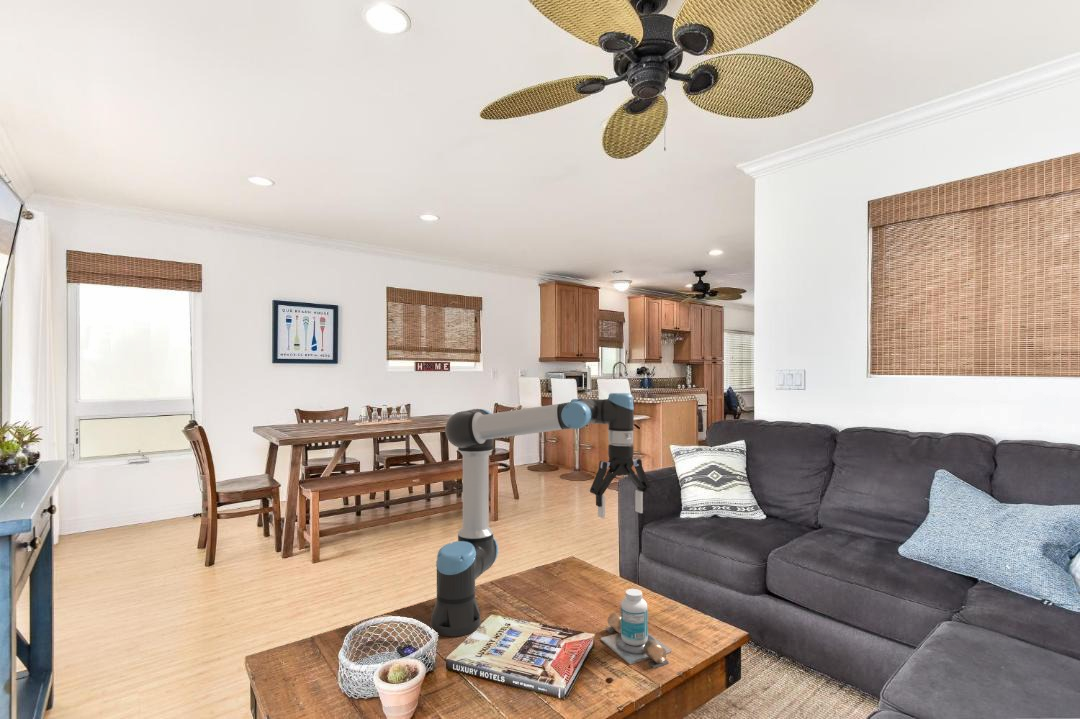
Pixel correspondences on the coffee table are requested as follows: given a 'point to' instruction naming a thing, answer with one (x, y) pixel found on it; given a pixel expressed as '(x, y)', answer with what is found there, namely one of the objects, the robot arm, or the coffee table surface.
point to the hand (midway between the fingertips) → (620, 514)
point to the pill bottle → (634, 618)
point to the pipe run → (635, 653)
